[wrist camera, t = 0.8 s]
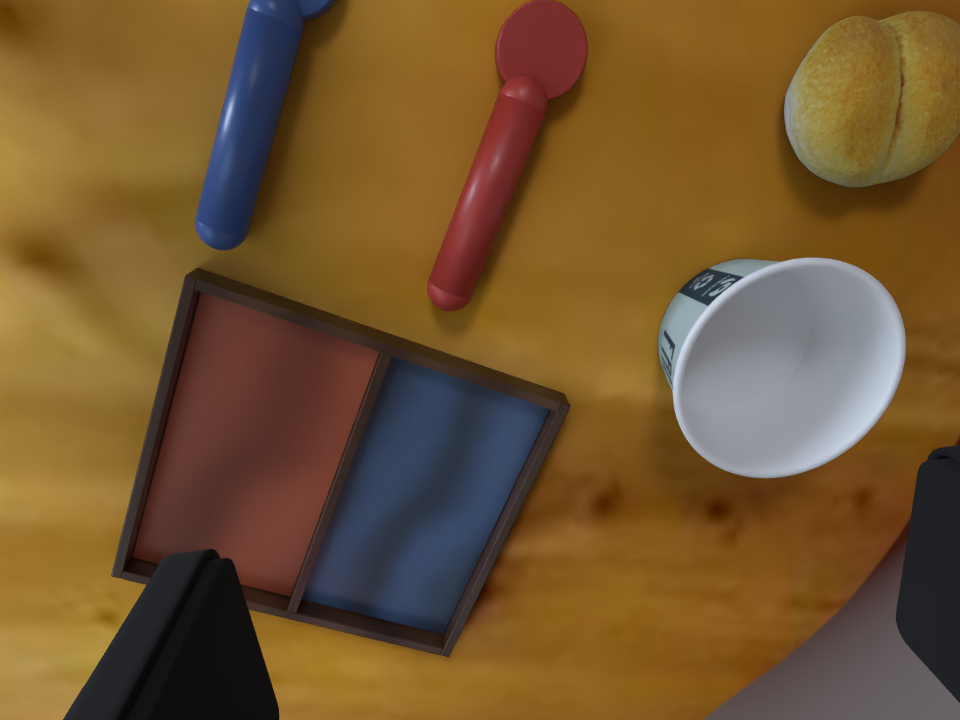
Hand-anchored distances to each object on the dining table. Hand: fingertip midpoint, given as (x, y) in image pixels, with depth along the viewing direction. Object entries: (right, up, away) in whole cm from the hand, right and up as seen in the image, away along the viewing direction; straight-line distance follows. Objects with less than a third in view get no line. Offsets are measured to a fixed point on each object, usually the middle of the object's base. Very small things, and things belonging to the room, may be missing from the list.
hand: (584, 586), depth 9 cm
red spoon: (-1, +13, +25) cm, 28 cm away
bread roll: (+19, +17, +25) cm, 36 cm away
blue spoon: (-12, +16, +23) cm, 30 cm away
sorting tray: (-10, -4, +31) cm, 33 cm away
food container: (+14, +5, +30) cm, 33 cm away
